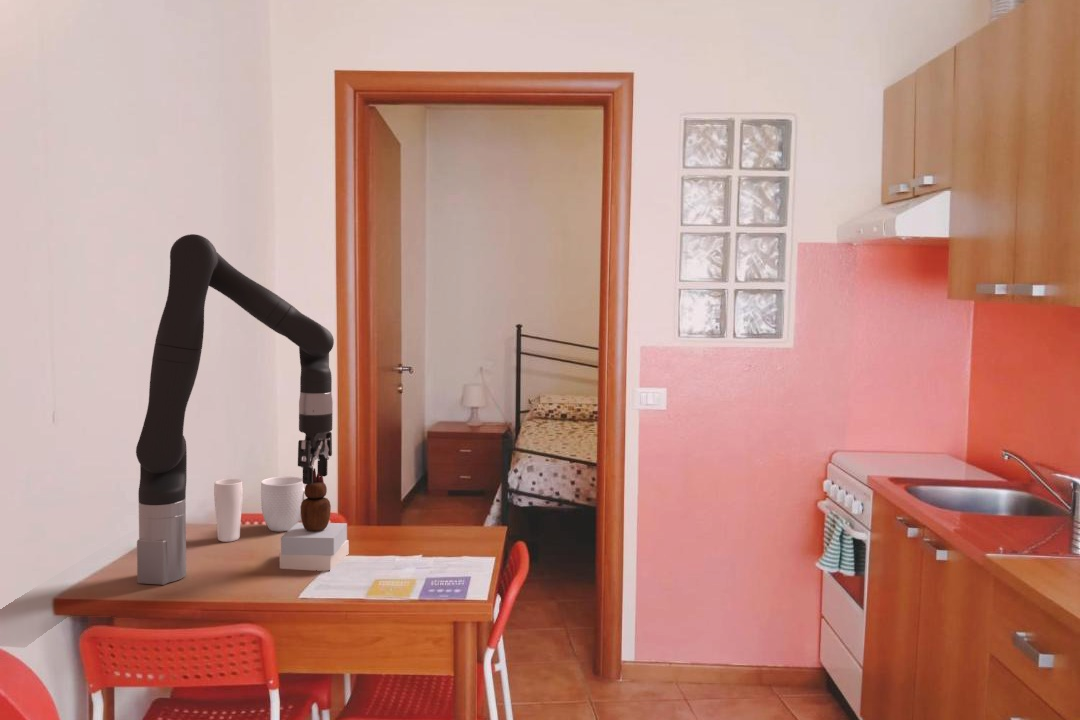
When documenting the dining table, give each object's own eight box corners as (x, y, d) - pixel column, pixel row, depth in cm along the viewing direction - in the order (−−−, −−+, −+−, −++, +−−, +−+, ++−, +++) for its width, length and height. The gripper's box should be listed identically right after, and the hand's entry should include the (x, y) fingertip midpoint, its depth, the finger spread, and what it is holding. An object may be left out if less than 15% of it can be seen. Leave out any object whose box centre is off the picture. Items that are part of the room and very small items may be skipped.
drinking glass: (215, 536, 198) (215, 479, 197) (243, 534, 200) (243, 478, 199) (213, 544, 192) (212, 485, 191) (242, 542, 194) (241, 483, 193)
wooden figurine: (300, 533, 176) (300, 468, 176) (300, 527, 182) (300, 464, 181) (330, 531, 178) (331, 467, 178) (329, 525, 184) (330, 463, 183)
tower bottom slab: (330, 573, 174) (330, 555, 174) (279, 570, 175) (279, 553, 175) (348, 556, 186) (348, 540, 186) (301, 553, 187) (301, 537, 187)
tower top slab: (333, 555, 174) (333, 538, 174) (281, 554, 174) (280, 537, 174) (346, 539, 186) (346, 523, 186) (297, 538, 186) (297, 522, 186)
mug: (320, 521, 214) (320, 475, 213) (317, 533, 203) (317, 484, 202) (264, 523, 211) (264, 476, 210) (257, 535, 200) (257, 485, 199)
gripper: (319, 416, 171) (318, 487, 172) (342, 408, 185) (341, 474, 186) (287, 414, 172) (286, 486, 173) (312, 406, 186) (312, 472, 187)
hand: (315, 479), depth 180 cm, fingers open, 8 cm apart
